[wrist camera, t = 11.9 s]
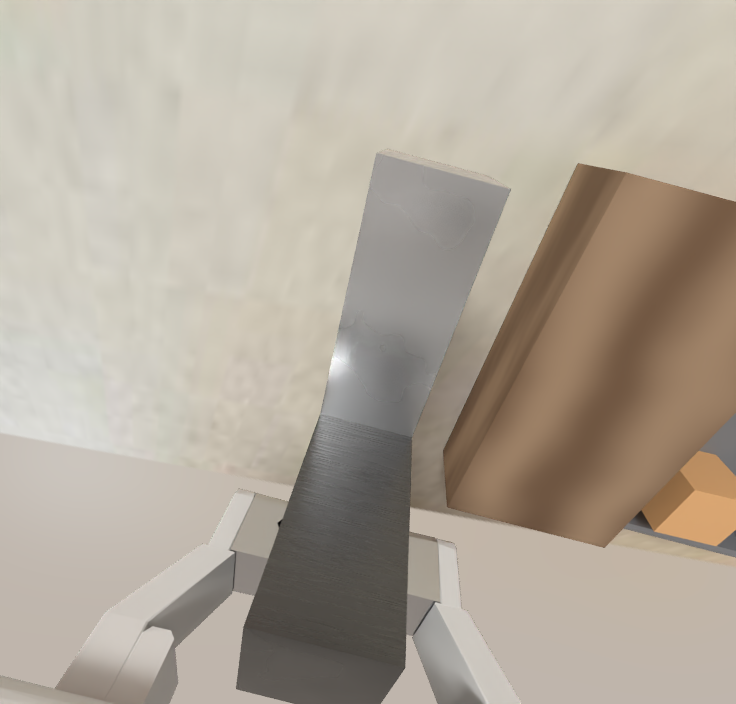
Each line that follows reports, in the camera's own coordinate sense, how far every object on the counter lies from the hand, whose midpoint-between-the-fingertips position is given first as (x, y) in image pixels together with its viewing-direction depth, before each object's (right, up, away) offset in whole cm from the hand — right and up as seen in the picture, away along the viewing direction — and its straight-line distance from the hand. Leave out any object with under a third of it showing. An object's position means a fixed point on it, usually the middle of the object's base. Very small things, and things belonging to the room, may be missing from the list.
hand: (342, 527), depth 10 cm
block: (+19, -4, +14) cm, 24 cm away
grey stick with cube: (+1, +3, +5) cm, 6 cm away
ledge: (+14, +4, +13) cm, 19 cm away
